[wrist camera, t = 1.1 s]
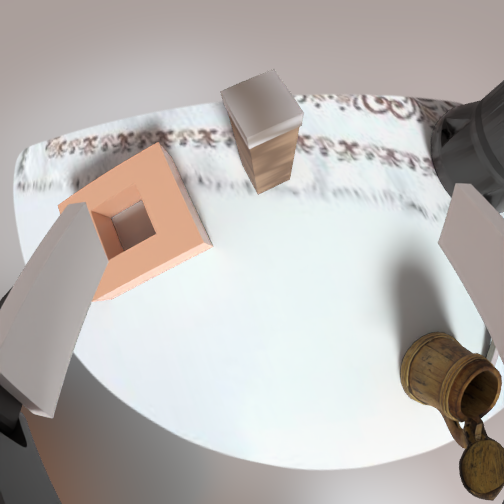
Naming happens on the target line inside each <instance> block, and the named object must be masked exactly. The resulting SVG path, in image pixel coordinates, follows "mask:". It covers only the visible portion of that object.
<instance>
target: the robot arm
mask: <svg viewBox="0 0 504 504" xmlns="http://www.w3.org/2000/svg"><path fill="white" fill-rule="evenodd" d="M431 152H432V158H433V163H434V166H435V169H436V172H437V174H438V177H439V179H440V181H441V183H442V184H443V186H444V188H445V189H446V191H447V192H448V193H449V195H450V196H451V197H452V199H451V202H450V206H449V209H448V213H447V216H446V219H445V223H444V226H443V229H442V232H441V235H440V238H439V241H438V244H439V246H440V247H441V249H442V250H443V252H444V253H445V255H446V257H447V258H448V260H449V261H450V263H451V265H452V266H453V268H454V270H455V271H456V273H457V275H458V276H459V278H460V280H461V281H462V283H463V285H464V287H465V288H466V290H467V292H468V294H469V296H470V297H471V299H472V301H473V303H474V305H475V306H476V308H477V310H478V312H479V314H480V316H481V318H482V320H483V322H484V324H485V326H486V328H487V330H488V332H489V334H490V336H491V338H492V340H493V342H494V344H495V346H496V348H497V351H498V353H499V355H500V357H501V360H502V362H503V364H504V218H503V217H502V216H501V215H500V214H499V213H502V212H504V80H503V81H502V82H501V83H500V84H499V85H498V86H497V87H496V88H494V89H493V90H492V91H491V92H490V93H489V94H488V95H487V96H485V97H484V98H483V99H482V100H481V101H477V102H473V103H469V104H465V105H461V106H457V107H455V108H453V109H451V110H449V111H448V112H447V113H446V114H445V115H444V116H443V117H442V118H441V119H440V120H439V121H438V122H437V124H436V125H435V127H434V130H433V133H432V139H431ZM108 262H109V261H108V259H107V256H106V254H105V252H104V249H103V247H102V244H101V242H100V239H99V237H98V234H97V232H96V229H95V226H94V224H93V221H92V219H91V216H90V213H89V210H88V208H87V205H86V202H81V203H74V204H68V205H67V207H66V208H65V209H64V211H63V212H62V213H61V215H60V216H59V217H58V219H57V220H56V222H55V223H54V224H53V226H52V227H51V229H50V230H49V231H48V233H47V234H46V236H45V237H44V239H43V240H42V242H41V243H40V244H39V246H38V247H37V249H36V250H35V252H34V254H33V255H32V257H31V258H30V260H29V261H28V263H27V264H26V266H25V268H24V269H23V271H22V272H21V274H20V276H19V277H18V279H17V281H16V282H15V284H14V286H13V287H12V288H11V289H10V290H9V291H8V293H7V294H6V295H5V296H4V297H3V298H2V299H1V301H0V504H62V503H61V501H60V500H59V498H58V496H57V494H56V491H55V489H54V487H53V485H52V484H51V481H50V479H49V477H48V475H47V472H46V470H45V468H44V465H43V463H42V461H41V458H40V456H39V453H38V451H37V448H36V446H35V443H34V440H33V438H32V435H31V432H30V429H29V426H28V423H27V420H26V418H25V416H24V415H23V413H21V412H20V410H21V407H22V405H24V406H25V407H26V408H27V409H28V410H30V411H31V412H32V413H34V414H37V415H41V416H45V417H49V418H53V416H54V412H55V408H56V404H57V401H58V397H59V394H60V391H61V387H62V384H63V381H64V378H65V375H66V371H67V368H68V365H69V362H70V359H71V356H72V353H73V350H74V348H75V345H76V342H77V339H78V336H79V333H80V331H81V328H82V325H83V323H84V320H85V317H86V315H87V312H88V310H89V307H90V305H91V302H92V300H93V297H94V295H95V292H96V290H97V287H98V285H99V283H100V280H101V278H102V276H103V273H104V271H105V269H106V266H107V264H108ZM502 504H504V501H503V503H502Z"/></svg>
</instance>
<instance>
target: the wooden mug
mask: <svg viewBox="0 0 504 504" xmlns="http://www.w3.org/2000/svg"><path fill="white" fill-rule="evenodd" d="M401 383H402V386H403V389H404V391H405V393H406V394H407V395H408V396H409V397H410V398H411V399H413V400H415V401H417V402H419V403H421V404H423V405H430V406H433V407H435V408H437V409H438V410H439V411H440V413H441V414H442V416H443V418H444V420H445V422H446V424H447V426H448V429H449V431H450V433H451V435H452V437H453V438H454V439H455V441H456V442H457V443H458V444H459V445H460V446H461V447H462V448H465V450H464V452H463V454H462V457H461V459H460V461H459V470H460V477H461V480H462V483H463V485H464V487H465V488H466V489H467V491H468V492H469V493H471V494H472V495H473V496H475V497H478V498H481V499H485V500H494V499H495V498H496V496H497V495H498V494H499V492H500V491H501V490H502V488H503V486H504V448H503V447H502V446H501V445H500V444H499V443H498V442H497V441H495V440H493V439H491V438H489V437H488V436H487V434H486V431H485V429H484V424H483V422H482V420H481V418H482V417H483V416H484V415H486V414H487V413H488V412H489V411H490V410H491V409H492V408H493V407H494V406H495V404H496V402H497V400H498V398H499V395H500V391H501V385H502V380H501V375H500V373H499V371H498V370H497V369H496V368H495V367H494V365H493V364H492V363H491V362H490V361H489V360H487V359H486V358H485V357H484V356H482V355H480V354H478V353H474V354H473V353H472V352H470V351H469V350H467V349H466V348H464V347H463V346H462V345H461V344H460V343H459V342H458V341H457V340H456V339H454V338H453V337H452V336H450V335H448V334H445V333H440V332H435V333H429V334H427V335H425V336H422V337H421V338H420V339H418V340H417V341H416V342H414V344H413V345H412V346H411V347H410V348H409V349H408V351H407V353H406V354H405V356H404V358H403V361H402V365H401ZM464 421H465V425H464V428H463V429H462V428H461V427H460V425H459V422H464Z"/></svg>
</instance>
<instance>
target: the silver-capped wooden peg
mask: <svg viewBox="0 0 504 504" xmlns="http://www.w3.org/2000/svg"><path fill="white" fill-rule="evenodd" d="M221 96H222V99H223V103H224V106H225V107H226V109H227V111H228V115H229V118H230V122H231V125H232V129H233V133H234V136H235V140H236V144H237V147H238V151H239V155H240V158H241V162H242V165H243V167H244V169H245V171H246V173H247V175H248V177H249V178H250V180H251V182H252V184H253V186H254V188H255V190H256V192H257V194H260V193H262V192H265V191H267V190H269V189H271V188H273V187H275V186H277V185H279V184H281V183H283V182H285V181H287V180H290V176H291V170H292V165H293V159H294V154H295V148H296V143H297V137H298V132H299V127H300V126H302V121H303V115H304V112H303V111H302V109H301V108H300V106H299V105H298V103H297V102H296V100H295V99H294V97H293V96H292V94H291V93H290V91H289V90H288V88H287V87H286V85H285V84H284V83H283V81H282V80H281V78H280V77H279V75H278V74H277V72H276V71H275V70H274V69H273V70H271V71H268V72H265V73H263V74H260V75H258V76H255V77H253V78H251V79H249V80H246V81H243V82H241V83H239V84H236V85H234V86H232V87H230V88H227V89H225V90H223V91H221Z"/></svg>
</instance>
